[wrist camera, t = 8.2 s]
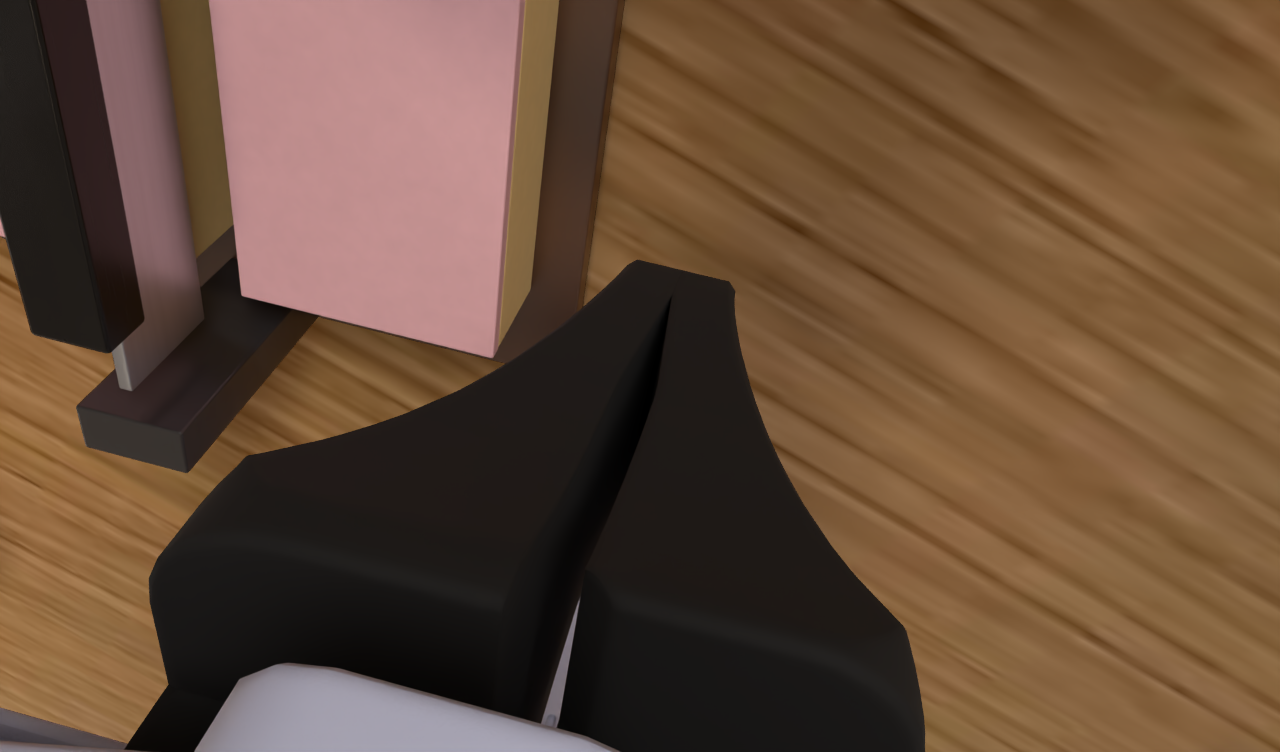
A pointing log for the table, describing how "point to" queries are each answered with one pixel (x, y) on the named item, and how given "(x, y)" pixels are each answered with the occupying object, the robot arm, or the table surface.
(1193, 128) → the table surface
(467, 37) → the pink sponge pad
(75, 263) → the knife
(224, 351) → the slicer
